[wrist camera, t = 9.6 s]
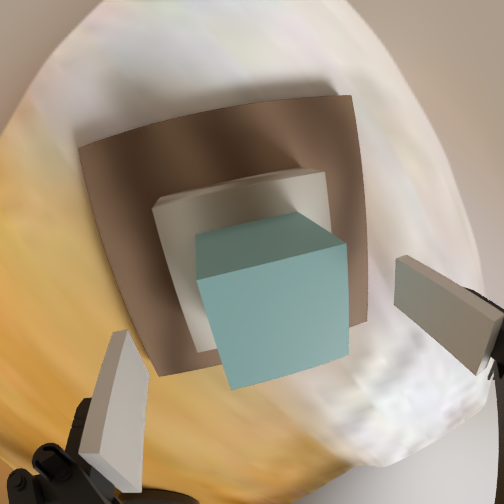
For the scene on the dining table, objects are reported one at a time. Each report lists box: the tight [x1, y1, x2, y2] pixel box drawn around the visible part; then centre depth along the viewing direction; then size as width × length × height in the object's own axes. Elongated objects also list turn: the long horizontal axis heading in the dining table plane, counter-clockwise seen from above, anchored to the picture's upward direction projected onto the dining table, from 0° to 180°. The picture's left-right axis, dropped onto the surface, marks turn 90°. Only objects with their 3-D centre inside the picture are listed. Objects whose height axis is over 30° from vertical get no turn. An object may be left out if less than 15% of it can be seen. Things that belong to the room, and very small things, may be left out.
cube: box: [195, 212, 349, 390], centre depth 15 cm, size 6×6×6 cm
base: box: [78, 95, 368, 377], centre depth 20 cm, size 20×20×6 cm
